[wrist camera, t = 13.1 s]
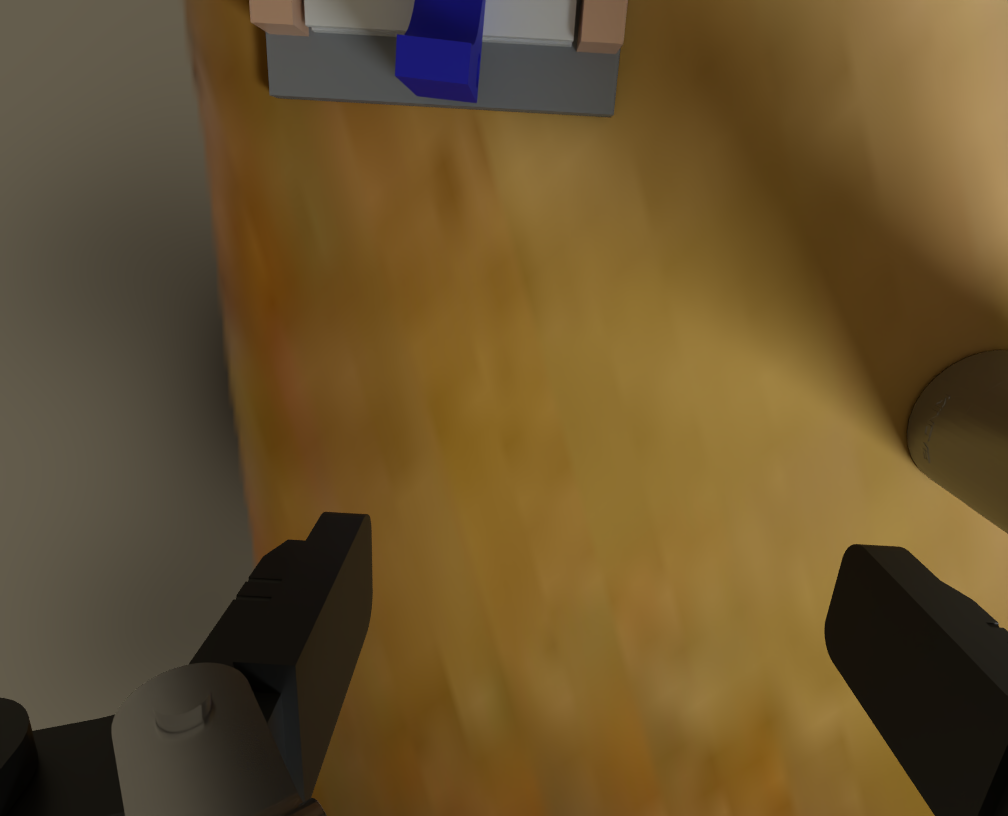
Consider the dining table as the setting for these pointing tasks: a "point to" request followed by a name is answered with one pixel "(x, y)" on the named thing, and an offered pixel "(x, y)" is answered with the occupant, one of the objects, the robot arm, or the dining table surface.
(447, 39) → the blue curved block
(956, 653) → the robot arm
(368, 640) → the dining table surface
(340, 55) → the rail board
